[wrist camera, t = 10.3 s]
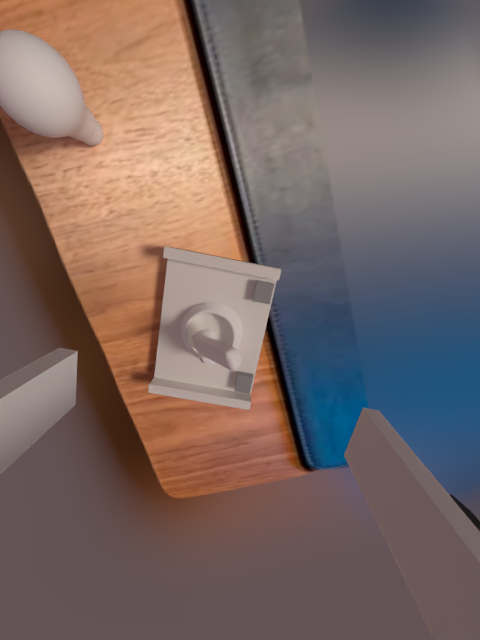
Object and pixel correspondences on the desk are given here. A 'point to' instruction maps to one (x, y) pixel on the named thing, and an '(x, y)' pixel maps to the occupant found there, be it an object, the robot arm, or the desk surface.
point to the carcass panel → (211, 325)
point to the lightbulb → (43, 90)
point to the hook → (214, 337)
